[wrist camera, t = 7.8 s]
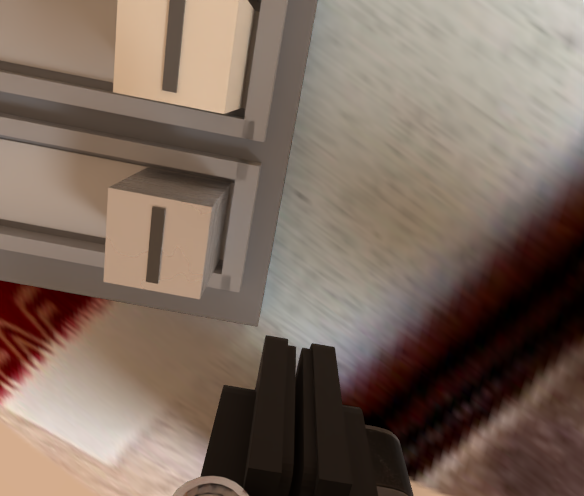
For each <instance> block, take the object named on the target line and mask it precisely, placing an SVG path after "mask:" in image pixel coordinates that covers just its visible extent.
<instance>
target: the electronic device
mask: <svg viewBox="0 0 584 496" xmlns="http://www.w3.org/2000/svg"><path fill="white" fill-rule="evenodd" d="M365 427H366V433H367V438H368V443H369V449H370V454H371V459H372V465H373V470H374V475H375V480H376V486H377V491H378V496H413V492H412V488H411V484H410V480H409V477H408V473H407V469H406V465H405V461H404V457H403V454H402V450H401V446H400V442H399V440H398V438H397V437H396V436H395V435H394V434H393V433H392V432H390V431H388V430H386V429H383V428H379V427H375V426H369V425H365Z"/></svg>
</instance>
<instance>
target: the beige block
mask: <svg viewBox="0 0 584 496" xmlns="http://www.w3.org/2000/svg"><path fill="white" fill-rule="evenodd" d="M229 189H230V183H226V182H221V181H216V180H210V179H205V178H200V177H195V176H189V175H184V174H179V173H174V172H168V171H163V170H158V169H153V168H145V169H143V170H141V171H139V172H137V173H135V174H133V175H132V176H130V177H128V178H126V179H124V180H122V181H120V182H118V183H116V184H114V185H112V186H110V187H108V201H107V221H106V241H105V261H104V281H103V282H107V283H112V284H118V285H124V286H129V287H135V288H140V289H146V290H151V291H157V292H162V293H168V294H173V295H179V296H184V297H190V298H195V299H200V298H201V296H202V294H203V292H204V290H205V288H206V286H207V284H208V282H209V280H210V278H211V276H212V274H213V272H214V270H215V268H216V266H217V264H218V262H219V259H220V252H221V245H222V238H223V231H224V224H225V217H226V210H227V203H228V196H229Z"/></svg>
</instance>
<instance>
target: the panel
mask: <svg viewBox="0 0 584 496" xmlns="http://www.w3.org/2000/svg"><path fill="white" fill-rule="evenodd" d="M248 1H249V3H250V4H251V6H252V7H253V8H254V10H255V14H254V21H253V28H252V35H251V42H250V49H249V56H248V63H247V70H246V77H245V84H244V91H243V98H242V105H241V108H240V109H237V110H234V111H231V112H228V113H226V114H221V113H216V112H211V111H206V110H201V109H196V108H191V107H186V106H181V105H175V104H170V103H165V102H160V101H155V100H150V99H145V98H140V97H135V96H130V95H124V94H119V93H114V92H113V82H114V62H115V42H116V22H117V2H118V0H0V280H2V281H7V282H13V283H18V284H24V285H30V286H35V287H41V288H46V289H52V290H57V291H63V292H68V293H74V294H79V295H85V296H91V297H96V298H102V299H107V300H113V301H118V302H124V303H129V304H135V305H140V306H146V307H152V308H157V309H163V310H168V311H174V312H179V313H185V314H190V315H196V316H201V317H207V318H213V319H218V320H224V321H229V322H235V323H240V324H246V325H251V326H258V322H259V317H260V311H261V306H262V301H263V295H264V290H265V284H266V279H267V273H268V268H269V262H270V257H271V252H272V246H273V241H274V235H275V230H276V224H277V219H278V213H279V208H280V203H281V197H282V192H283V186H284V181H285V175H286V170H287V164H288V159H289V153H290V148H291V143H292V137H293V132H294V126H295V121H296V115H297V110H298V104H299V99H300V94H301V88H302V83H303V77H304V72H305V66H306V61H307V55H308V50H309V45H310V39H311V34H312V28H313V23H314V17H315V12H316V6H317V1H318V0H248ZM145 168H153V169H158V170H163V171H168V172H174V173H179V174H184V175H189V176H195V177H200V178H205V179H210V180H216V181H221V182H226V183H230V189H229V196H228V203H227V210H226V217H225V224H224V231H223V238H222V245H221V252H220V259H219V262H218V264H217V266H216V268H215V270H214V272H213V274H212V276H211V278H210V280H209V282H208V284H207V286H206V288H205V290H204V292H203V294H202V296H201V298H200V299H195V298H190V297H184V296H179V295H173V294H168V293H162V292H157V291H151V290H146V289H140V288H135V287H129V286H124V285H118V284H112V283H107V282H103V281H104V261H105V241H106V221H107V201H108V187H110V186H112V185H114V184H116V183H118V182H120V181H122V180H124V179H126V178H128V177H130V176H132V175H133V174H135V173H137V172H139V171H141V170H143V169H145Z"/></svg>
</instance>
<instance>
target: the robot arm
mask: <svg viewBox="0 0 584 496" xmlns="http://www.w3.org/2000/svg"><path fill="white" fill-rule="evenodd" d="M295 368H296V347H295V346H289V345H288V339H284V338H279V337H273V336H267V335H266V337H265V342H264V347H263V352H262V357H261V362H260V368H259V373H258V378H257V383H256V388H255V390H251V389H245V388H239V387H233V386H227V385H224V387H223V390H222V394H221V398H220V402H219V406H218V410H217V414H216V418H215V422H214V425H213V429H212V433H211V437H210V441H209V445H208V449H207V453H206V457H205V461H204V465H203V469H202V473H201V477H198V478H196V479H193V480H191V481H188V482H186V483H185V484H184V485H182V486H181V487H180V488H178V489H177V490H176V492H175V493H174V494H173V496H378V491H377V486H376V480H375V475H374V470H373V465H372V459H371V454H370V449H369V443H368V438H367V433H366V427H365V422H364V417H363V413H362V410H361V408H359V407H353V406H347V405H342V399H341V392H340V384H339V376H338V368H337V361H336V353H335V348H334V347H331V346H325V345H319V344H313V343H312V344H311V347H310V349H307V348H302V350H301V354H300V358H299V363H298V367H297V372H296V376H295Z"/></svg>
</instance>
